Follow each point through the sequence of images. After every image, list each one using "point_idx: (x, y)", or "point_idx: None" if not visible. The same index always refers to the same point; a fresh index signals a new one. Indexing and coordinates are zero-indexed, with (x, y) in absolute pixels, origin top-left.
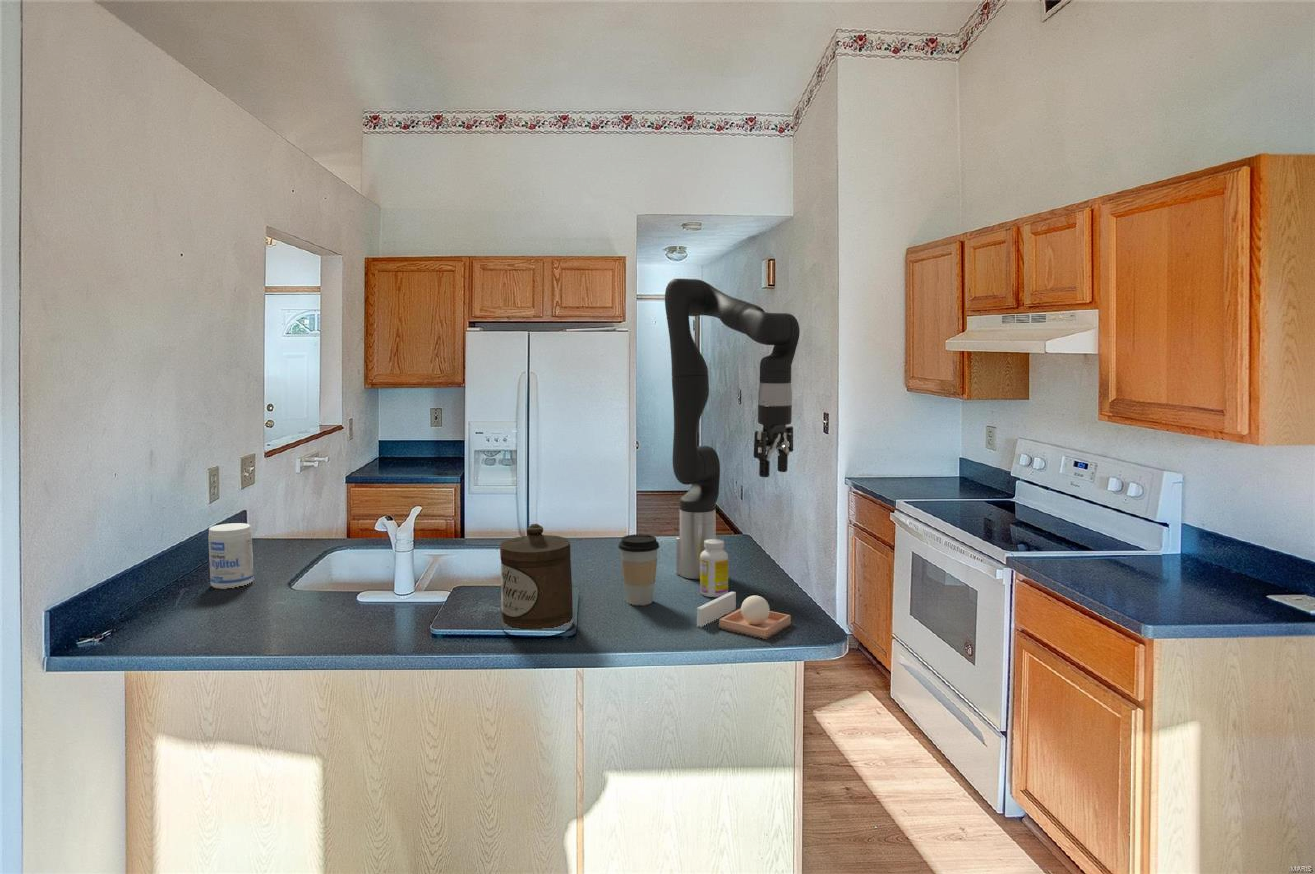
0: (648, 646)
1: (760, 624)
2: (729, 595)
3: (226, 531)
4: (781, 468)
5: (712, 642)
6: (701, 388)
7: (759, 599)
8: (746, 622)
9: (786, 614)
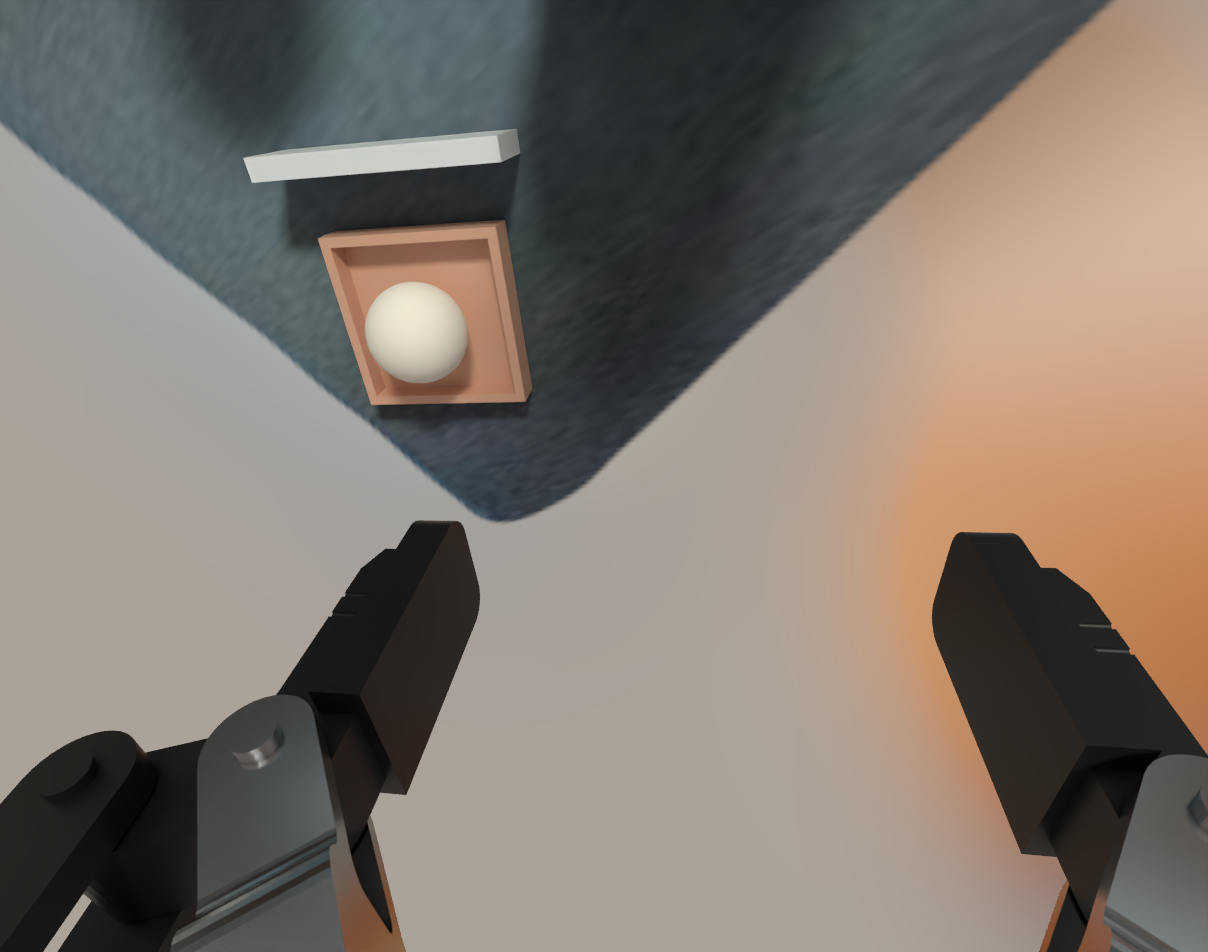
0: (52, 140)
1: None
2: (449, 166)
3: None
4: (958, 606)
5: (247, 284)
6: None
7: (397, 370)
8: None
9: (521, 388)
